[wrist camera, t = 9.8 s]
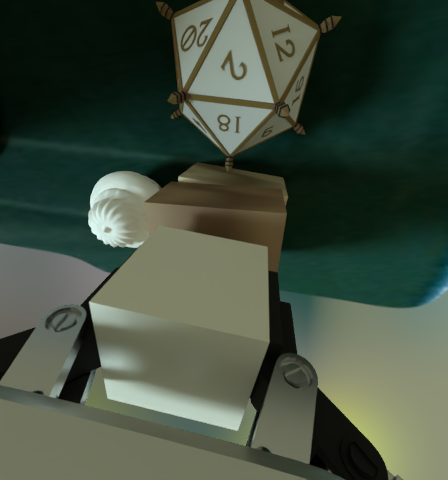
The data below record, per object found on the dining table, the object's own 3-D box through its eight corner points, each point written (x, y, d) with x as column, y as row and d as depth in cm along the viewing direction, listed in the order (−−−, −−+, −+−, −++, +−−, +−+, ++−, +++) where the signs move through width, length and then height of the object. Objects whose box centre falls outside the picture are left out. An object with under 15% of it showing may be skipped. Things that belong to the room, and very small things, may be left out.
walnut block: (178, 269, 19) (158, 306, 15) (171, 181, 15) (143, 202, 12) (268, 280, 18) (269, 321, 14) (281, 188, 14) (286, 213, 11)
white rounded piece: (175, 236, 23) (143, 282, 17) (115, 216, 23) (61, 254, 17) (189, 175, 20) (155, 204, 14) (119, 151, 20) (54, 169, 14)
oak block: (191, 235, 23) (174, 265, 19) (197, 161, 19) (178, 176, 15) (263, 250, 22) (263, 283, 18) (283, 177, 19) (288, 196, 15)
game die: (232, 109, 20) (131, 152, 15) (242, -47, 14) (72, -59, 9) (328, 148, 17) (238, 221, 12) (403, -38, 10) (270, -51, 5)
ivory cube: (159, 225, 11) (88, 301, 7) (267, 246, 11) (269, 342, 6) (158, 304, 13) (107, 398, 9) (246, 323, 13) (237, 430, 9)
